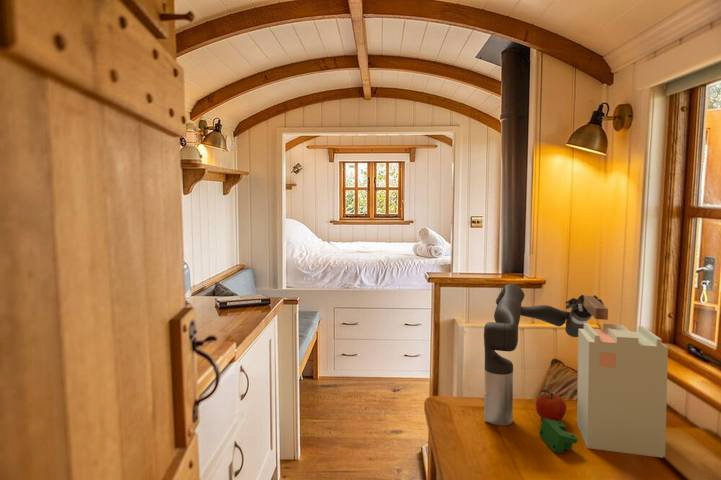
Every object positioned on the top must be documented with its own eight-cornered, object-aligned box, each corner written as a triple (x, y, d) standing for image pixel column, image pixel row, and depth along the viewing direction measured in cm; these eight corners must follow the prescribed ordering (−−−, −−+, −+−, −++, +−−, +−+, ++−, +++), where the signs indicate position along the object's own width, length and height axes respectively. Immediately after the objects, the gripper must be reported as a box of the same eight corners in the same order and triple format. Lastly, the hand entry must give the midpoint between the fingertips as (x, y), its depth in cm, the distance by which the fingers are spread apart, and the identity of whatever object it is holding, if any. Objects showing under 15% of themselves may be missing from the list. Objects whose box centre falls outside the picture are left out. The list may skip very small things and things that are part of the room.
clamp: (568, 465, 128) (582, 445, 124) (548, 461, 128) (561, 440, 124) (555, 432, 139) (567, 412, 135) (537, 427, 139) (548, 407, 135)
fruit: (566, 428, 142) (567, 398, 141) (535, 423, 145) (535, 393, 145) (565, 415, 150) (566, 387, 150) (535, 411, 154) (536, 383, 154)
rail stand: (587, 448, 129) (589, 335, 128) (577, 423, 145) (578, 322, 143) (665, 458, 123) (668, 340, 122) (645, 431, 139) (648, 326, 137)
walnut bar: (595, 319, 140) (595, 308, 140) (582, 304, 163) (582, 295, 163) (607, 319, 139) (608, 308, 139) (592, 305, 162) (592, 296, 161)
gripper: (561, 302, 177) (567, 287, 163) (600, 304, 173) (609, 288, 158) (562, 320, 174) (568, 306, 159) (602, 322, 170) (611, 308, 155)
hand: (589, 297), depth 159 cm, fingers closed on walnut bar, 3 cm apart
